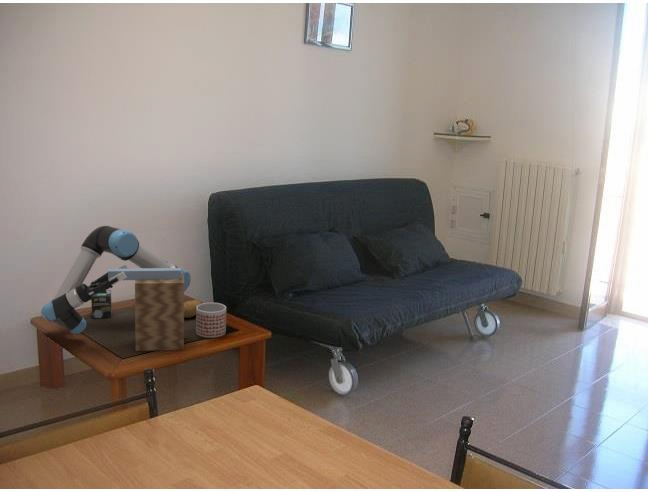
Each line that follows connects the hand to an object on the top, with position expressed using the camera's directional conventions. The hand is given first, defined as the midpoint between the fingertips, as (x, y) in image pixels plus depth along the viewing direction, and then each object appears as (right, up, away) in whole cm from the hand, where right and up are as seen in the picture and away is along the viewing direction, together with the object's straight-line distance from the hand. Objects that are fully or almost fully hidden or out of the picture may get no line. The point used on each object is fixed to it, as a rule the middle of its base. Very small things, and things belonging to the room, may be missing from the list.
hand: (126, 270), depth 273 cm
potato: (+17, -25, +47) cm, 56 cm away
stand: (+12, -33, +11) cm, 37 cm away
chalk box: (-25, -24, +42) cm, 54 cm away
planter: (+31, -30, +27) cm, 51 cm away
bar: (+7, -4, +3) cm, 9 cm away
